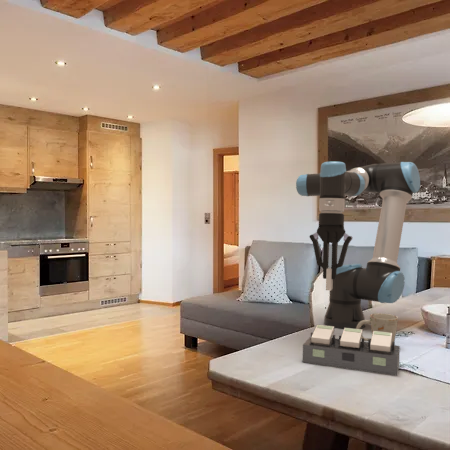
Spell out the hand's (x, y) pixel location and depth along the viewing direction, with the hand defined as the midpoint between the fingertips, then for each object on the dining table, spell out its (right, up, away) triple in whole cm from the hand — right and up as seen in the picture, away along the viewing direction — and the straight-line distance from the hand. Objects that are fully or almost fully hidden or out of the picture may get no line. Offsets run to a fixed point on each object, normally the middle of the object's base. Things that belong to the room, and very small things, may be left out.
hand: (329, 289), depth 142 cm
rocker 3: (+11, -12, -15) cm, 22 cm away
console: (+4, -19, -11) cm, 22 cm away
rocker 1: (-4, -12, -8) cm, 15 cm away
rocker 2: (+4, -12, -11) cm, 17 cm away
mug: (+16, -19, +5) cm, 26 cm away
